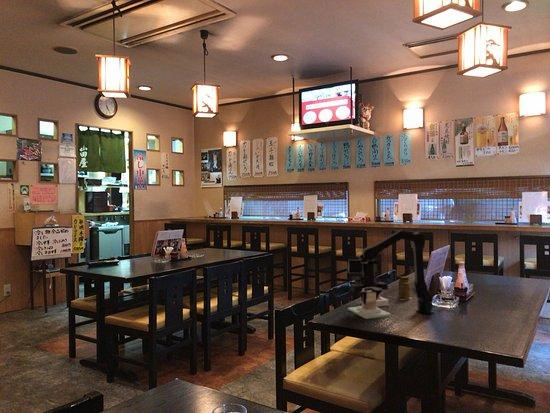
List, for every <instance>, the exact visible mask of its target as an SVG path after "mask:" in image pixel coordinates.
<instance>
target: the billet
mask: <svg viewBox="0 0 550 413" xmlns="http://www.w3.org/2000/svg"><path fill="white" fill-rule="evenodd" d="M365 292H366V303H365V305H364V304H363V302H362V301H361V306H362V307H363V308H365V309H376V292H373V291H372V289H369V290H365Z"/></svg>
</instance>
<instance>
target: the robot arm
mask: <svg viewBox="0 0 550 413" xmlns="http://www.w3.org/2000/svg"><path fill="white" fill-rule="evenodd" d="M401 240H406V241H409V242H410V244H411V247H412V251H413V263H414V264H413V265H414V266H413V267H414V280H413V282H410V283H411V289H410V291H412V293H413V294H414V295H415V296H416V298H417V309H416V310H415V313H419V314H421V315H429V314H430V315H431V314H434V313H435V312H434V311H432V303H433V300H434V297H433V296H432V295H430V293H429V290H428V285H427V283H426V280H425V270H424V269H425V268H424V267H425V265H424V249H425V247H426V246H425V245H426V236H425V235H424V234H423V233H421V232H413V233H411V232H407V231H404V230H402V229H399V230H396V232H394V233H392V234H391V235H390V236H387V237H386V238H384V239H383V240H381V241H380V242H377V243H375V244H371V245H369V246H367V247H364V248H363V249H362V250H361V255H360V256H359V257H358V259H348V262H347V273H348V274H360V273H361V272H362V274H361V277H359V276H358V275H357V276H353V277H354V278H353V279H354V280H353V281H354V283H352V284H350V285H349V291H351V292H354V293H358V294H359V296H360V299H361V303H362V302H363V304H364V305H365V303H366V292H365V291H366V290H371V291H373V292H376V300H377V298H378V296H379V295H380V294H381V292H383V291H384V290H385V291H386V290H389V285H388V283H387V282H383V281H379V282H377V281H376V280H375V279H376V278H377V275H375V274H376V273H375V272H376V271H375V270H376V269H375V267H376V265H379V264H380V263H379V262H378V261H377V259H376V257H377V256H379V254H381V253H382V252H383V251H385V250H386V249H388V248H389V247H390V246H393V245H394V244H396V243H397V242H399V241H401Z"/></svg>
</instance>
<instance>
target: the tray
mask: <svg viewBox="0 0 550 413" xmlns="http://www.w3.org/2000/svg"><path fill="white" fill-rule="evenodd" d="M347 311H350V312H352V313H354V314H355V315H358V316H360V317H362V318H363V319H366V320H368V319H377V318H387V317H392V313H391V312H388V311H385V310H383V309H382V308H380V307H376V309H365V308H363V307H362V305H359V306H351V307H347Z"/></svg>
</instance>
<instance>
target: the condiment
mask: <svg viewBox="0 0 550 413" xmlns="http://www.w3.org/2000/svg"><path fill="white" fill-rule="evenodd" d="M410 283H411V282H410V277H409V276H404V275H403V276H399V280H398V296H393V297H392V299H393V298H394V299H397V300H401V301H406V300H411V299H413V297H410V295H411V294H410V293H411V292H410V291H411V289H410V288H411V287H410V286H411V285H410Z"/></svg>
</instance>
